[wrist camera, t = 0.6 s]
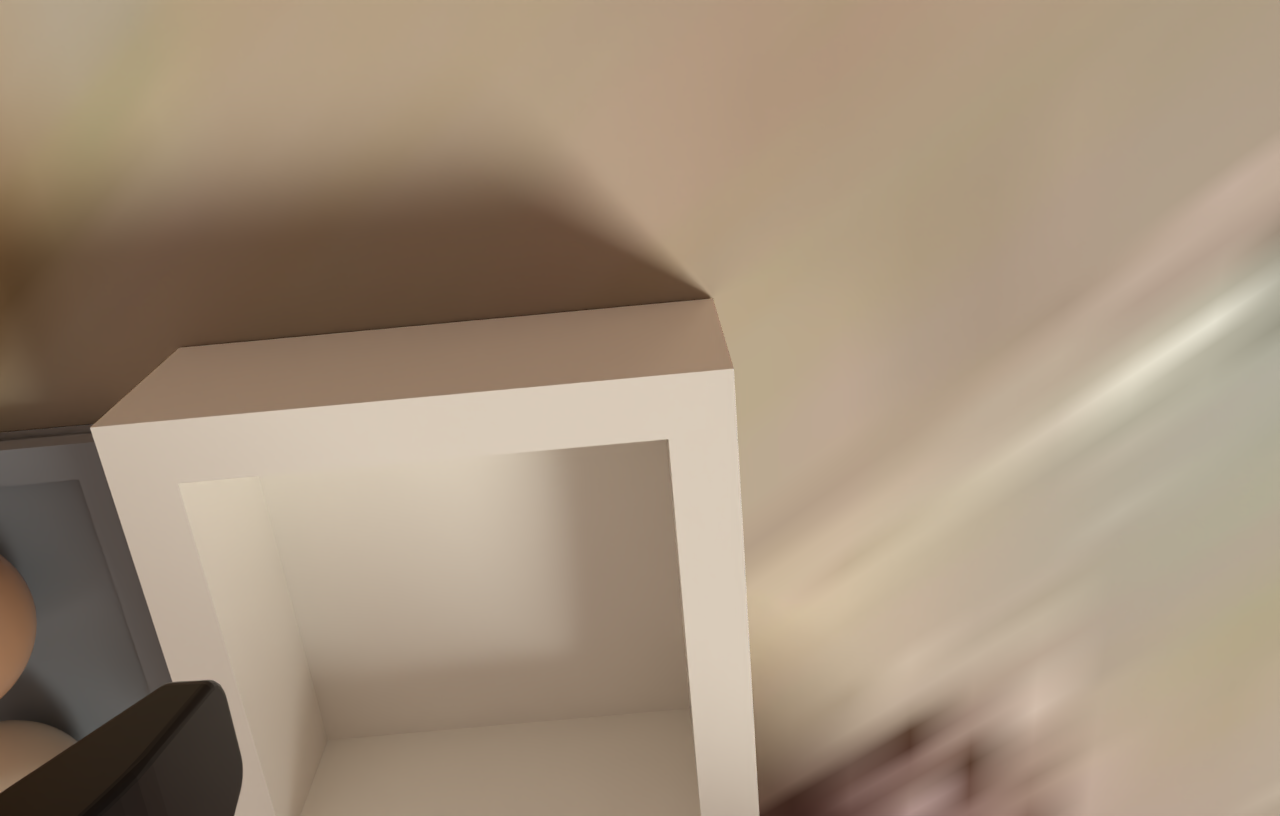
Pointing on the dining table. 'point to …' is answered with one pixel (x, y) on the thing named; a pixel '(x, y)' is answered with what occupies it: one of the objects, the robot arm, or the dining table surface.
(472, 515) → the stoneware dish
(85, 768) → the robot arm
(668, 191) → the dining table surface
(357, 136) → the dining table surface
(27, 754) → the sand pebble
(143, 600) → the slate tray
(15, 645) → the orange tan ball
